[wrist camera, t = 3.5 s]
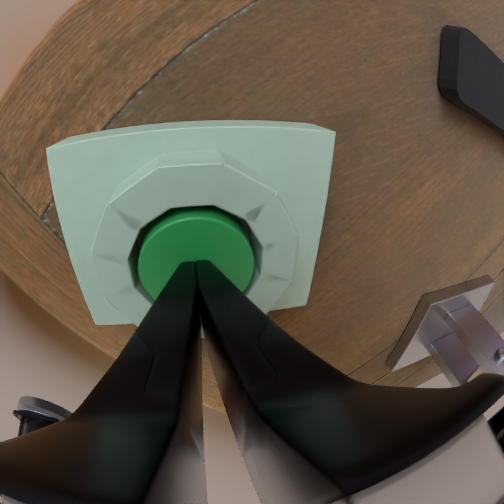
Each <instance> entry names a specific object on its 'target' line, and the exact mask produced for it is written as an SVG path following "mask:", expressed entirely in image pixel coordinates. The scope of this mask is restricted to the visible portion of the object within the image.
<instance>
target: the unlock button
mask: <svg viewBox="0 0 504 504" xmlns="http://www.w3.org/2000/svg"><path fill="white" fill-rule="evenodd" d="M197 260H209V261H211V262H212V263H213V264H214V265H215V266H216V267H217V268H218V269H219V270H220V271H221V272H222V273H223V274H224V275H225V276H226V277H227V278H228V279H229V280H230V281H231V282H232V283H233V284H234V285H235V286H236V287H237V288H238V289H239V290H240V291H242V292H243V291H244V290H245V289H246V287H247V286H248V284H249V282H250V280H251V277H252V274H253V269H254V256H253V252H252V249H251V246H250V244H249V241H248V239H247V237H246V234H245V232H244V229H243V227H242V225H241V222H240V221H239V219H238V217H237V216H235V215H233V214H231V213H229V212H227V211H225V210H222V209H220V208H218V207H216V206H214V205H205V206H191V207H178V208H171V209H169V210H168V211H166V212H165V213H163V214H162V215H160V216H159V217H157V218H156V219H154V220H153V221H151V222H150V223H148V224H147V226H146V229H145V232H144V236H143V241H142V245H141V250H140V254H139V260H138V272H139V277H140V280H141V283H142V285H143V287H144V288H145V290H146V291H147V293H148V294H149V295H150V296H151V297H152V298H153V299H154V300H156V298H157V297H158V295H159V294H160V292H161V291H162V289H163V288H164V286H165V285H166V283H167V282H168V280H169V279H170V277H171V276H172V274H173V273H174V272H175V270H176V269H177V267H178V266H179V264H180V263H181V262H185V261H194V262H196V261H197ZM199 309H200V308H199Z"/></svg>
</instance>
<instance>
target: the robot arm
mask: <svg viewBox="0 0 504 504" xmlns="http://www.w3.org/2000/svg"><path fill="white" fill-rule="evenodd" d="M199 308H200V309H199ZM200 317H201V318H200ZM201 325H202V327H201ZM202 331H203V335H204V339H205V343H206V347H207V350H208V354H209V357H210V360H211V364H212V367H213V371H214V374H215V377H216V380H217V384H218V387H219V390H220V393H221V396H222V400H223V403H224V406H225V409H226V412H227V415H228V418H229V421H230V424H231V426H232V429H233V432H234V435H235V438H236V441H237V443H238V446H239V449H240V451H241V454H242V457H243V458H244V462H245V465H246V467H247V470H248V473H249V475H250V478H251V480H252V483H253V485H254V487H255V490H256V492H257V495H258V497H259V499H260V502H261V504H504V406H503V407H502V408H501V409H500V410H499V411H498V412H497V413H496V414H495V415H494V416H492V417H491V418H490V419H489V420H488V421H487V420H486V418H485V417H484V415H483V413H484V412H485V411H486V410H488V408H490V407H491V406H492V405H493V404H494V403H495V402H496V401H497V400H498V399H499V398H500V397H502V396H503V395H504V375H500V374H492V373H481V374H479V375H478V376H476V377H475V378H474V379H472V380H471V381H469V382H468V383H466V384H464V385H460V386H457V387H452V388H440V389H437V388H436V389H435V388H408V387H392V386H380V385H370V384H365V383H362V382H359V381H356V380H354V379H352V378H350V377H348V376H347V375H345V374H343V373H342V372H340V371H339V370H337V369H336V368H334V367H333V366H331V365H330V364H328V363H327V362H325V361H324V360H322V359H321V358H320V357H318V356H317V355H315V354H314V353H312V352H311V351H309V350H308V349H307V348H305V347H304V346H302V345H301V344H300V343H298V342H297V341H296V340H294V339H293V338H292V337H291V336H289V335H288V334H287V333H286V332H285V331H284V330H282V329H281V328H280V327H279V326H278V325H277V324H276V323H275V322H274V321H273V320H271V319H270V318H269V317H268V316H267V315H266V314H265V313H264V312H263V311H262V310H261V309H260V308H258V307H257V306H256V305H255V304H254V303H253V302H252V301H251V300H250V299H249V298H248V297H247V296H246V295H245V294H244V293H243V292H242V291H240V290H239V289H238V288H237V287H236V286H235V285H234V284H233V283H232V282H231V281H230V280H229V279H228V278H227V277H226V276H225V275H224V274H223V273H222V272H221V271H220V270H219V269H218V268H217V267H216V266H215V265H214V264H213V263H212V262H211V261H209V260H197V261H196V262H194V261H185V262H181V263H180V264H179V266H178V267H177V269H176V270H175V272H174V273H173V274H172V276H171V277H170V279H169V280H168V282H167V283H166V285H165V286H164V288H163V289H162V291H161V292H160V294H159V295H158V297H157V298H156V300H155V301H154V303H153V304H152V306H151V307H150V309H149V310H148V312H147V313H146V315H145V317H144V318H143V320H142V321H141V323H140V324H139V326H138V328H137V329H136V331H135V333H134V334H133V335H132V337H131V338H130V340H129V342H128V343H127V345H126V346H125V348H124V349H123V351H122V352H121V354H120V355H119V356H118V358H117V359H116V360H115V362H114V363H113V364H112V366H111V367H110V368H109V370H108V371H107V372H106V374H105V375H104V376H103V377H102V379H101V380H100V381H99V382H98V384H97V385H96V386H95V387H94V389H93V390H92V391H91V393H90V394H89V395H88V397H87V398H86V399H85V400H84V402H83V403H82V404H81V405H80V406H79V408H78V409H77V410H76V411H75V412H74V413H72V414H71V415H70V416H69V417H67V418H65V419H64V420H61V421H60V420H59V419H57V418H54V417H48V416H42V415H36V414H30V413H25V412H21V411H16V410H14V411H13V415H14V416H16V417H17V418H18V419H19V420H20V426H19V433H18V437H15V438H13V439H9V440H6V441H3V442H0V496H1V498H2V499H1V501H2V503H0V504H207V491H206V476H205V464H204V462H205V460H204V441H203V440H204V439H203V411H202V410H203V409H202Z"/></svg>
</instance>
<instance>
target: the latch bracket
mask: <svg viewBox="0 0 504 504" xmlns="http://www.w3.org/2000/svg"><path fill="white" fill-rule="evenodd" d="M494 283H495V281H494V280H493V279H492V278H491V277H490V276H489V275H487V276H484V277H481V278H478V279H475V280H472V281H469V282H465V283H462V284H459V285H456V286H452V287H449V288H446V289H442V290H439V291H435V292H432V293H428V294H424V295H423V296H422V298H421V300H420V302H419V304H418V306H417V308H416V310H415V312H414V314H413V316H412V318H411V320H410V322H409V324H408V326H407V327H406V329H405V331H404V333H403V335H402V336H401V338H400V340H399V342H398V343H397V345H396V347H395V349H394V350H393V352H392V354H391V355H390V357H389V359H388V360H387V362H386V363H387V365H388V367H389V368H390V370H391V371H395V370H397V369H400V368H402V367H405V366H407V365H410V364H412V363H414V362H417V361H419V360H421V359H423V358H425V357H428V356H430V355H431V356H432V358H433V359H434V360H435V362H436V363H437V365H438V366H439V368H440V369H441V370H442V372H443V373H444V375H445V376H446V378H447V379H448V381H449V382H450V383H451V385H452V386H453V387H457V386H460V385H464V384H466V383H468V382H467V380H468V379H469V377H470V376H471V375H472V373H473V372H474V370H475V369H476V367H477V366H478V365H479V366H480V367H481V368H482V370H483V371H484V373H492V374H500V375H504V340H503V339H502V338H501V336H500V335H499V334H498V333H497V332H496V330H495V329H494V328H493V327H492V326H491V325H490V323H489V322H488V321H487V320H486V319H485V318H484V317H483V316H482V314H481V313H480V312H479V310H480V309H481V307H482V305H483V304H484V302H485V300H486V298H487V296H488V295H489V293H490V291H491V289H492V287H493V285H494Z"/></svg>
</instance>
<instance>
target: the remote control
mask: <svg viewBox="0 0 504 504" xmlns="http://www.w3.org/2000/svg"><path fill="white" fill-rule="evenodd" d="M439 87H440V90H441V93H442V95H443V96H444V97H445V98H446V99H447V100H449V101H451V102H453V103H454V104H456V105H458V106H460V107H461V108H463V109H465V110H466V111H468V112H469V113H471V114H473V115H474V116H476V117H477V118H479V119H480V120H482V121H483V122H485V123H486V124H488V125H489V126H490V127H492V128H493V129H495V130H496V131H497V132H499V133H500V134H501V135H503V136H504V63H503V62H502V61H501V60H500V59H499V58H498V57H497V56H496V55H495V54H494V53H493V52H492V51H491V50H490V49H489V48H488V47H487V46H486V45H485V44H484V43H483V42H482V41H481V40H480V39H479V38H477V37H476V36H475V35H474V34H473V33H472V32H471V31H470V30H468V29H466V28H463V27H456V26H449V25H447V26H445V27H443V32H442V44H441V60H440V71H439Z"/></svg>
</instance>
